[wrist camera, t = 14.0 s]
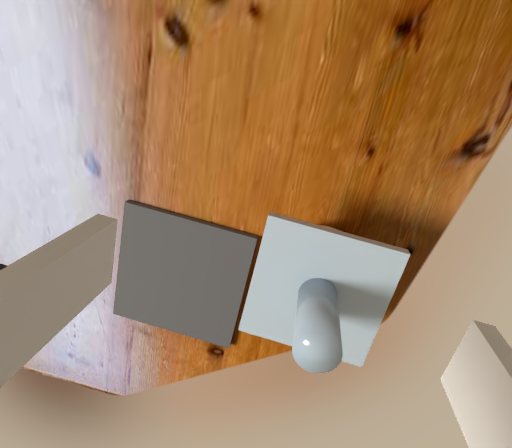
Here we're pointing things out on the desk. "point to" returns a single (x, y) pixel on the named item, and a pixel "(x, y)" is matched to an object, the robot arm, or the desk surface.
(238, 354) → the desk surface
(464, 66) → the desk surface
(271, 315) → the lid
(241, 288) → the mat
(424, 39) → the desk surface
